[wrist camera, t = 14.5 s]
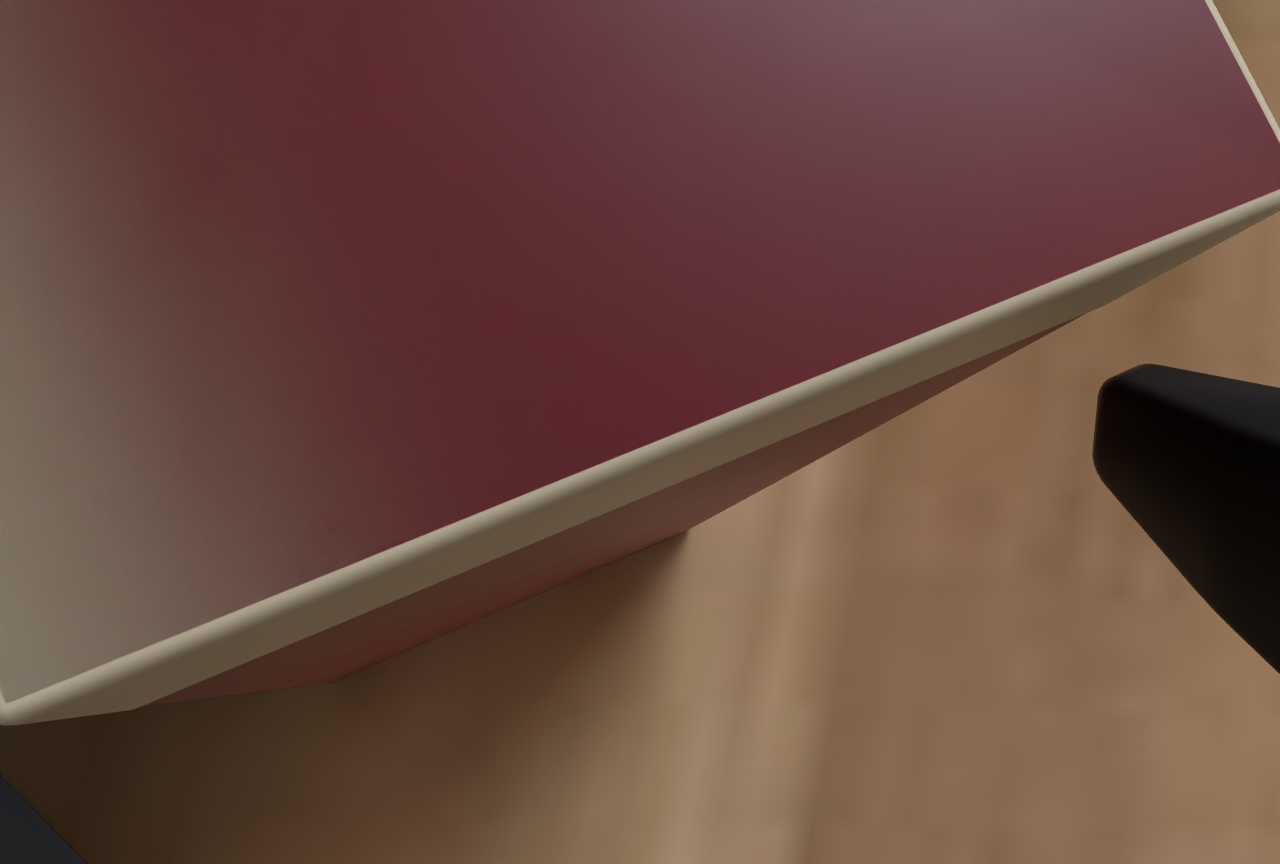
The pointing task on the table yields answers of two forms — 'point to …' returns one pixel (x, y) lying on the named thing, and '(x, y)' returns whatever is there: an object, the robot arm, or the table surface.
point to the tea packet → (523, 287)
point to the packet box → (29, 834)
